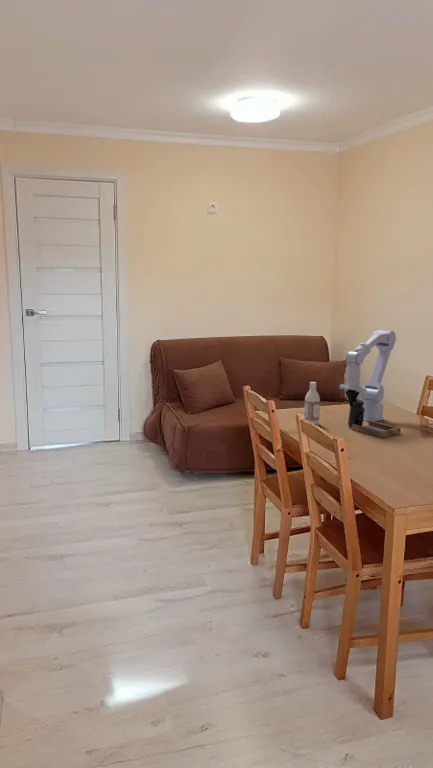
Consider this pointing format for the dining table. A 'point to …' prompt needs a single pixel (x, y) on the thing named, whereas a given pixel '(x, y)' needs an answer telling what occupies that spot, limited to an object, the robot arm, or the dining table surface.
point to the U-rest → (377, 429)
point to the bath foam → (312, 404)
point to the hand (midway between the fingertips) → (351, 406)
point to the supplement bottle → (356, 413)
